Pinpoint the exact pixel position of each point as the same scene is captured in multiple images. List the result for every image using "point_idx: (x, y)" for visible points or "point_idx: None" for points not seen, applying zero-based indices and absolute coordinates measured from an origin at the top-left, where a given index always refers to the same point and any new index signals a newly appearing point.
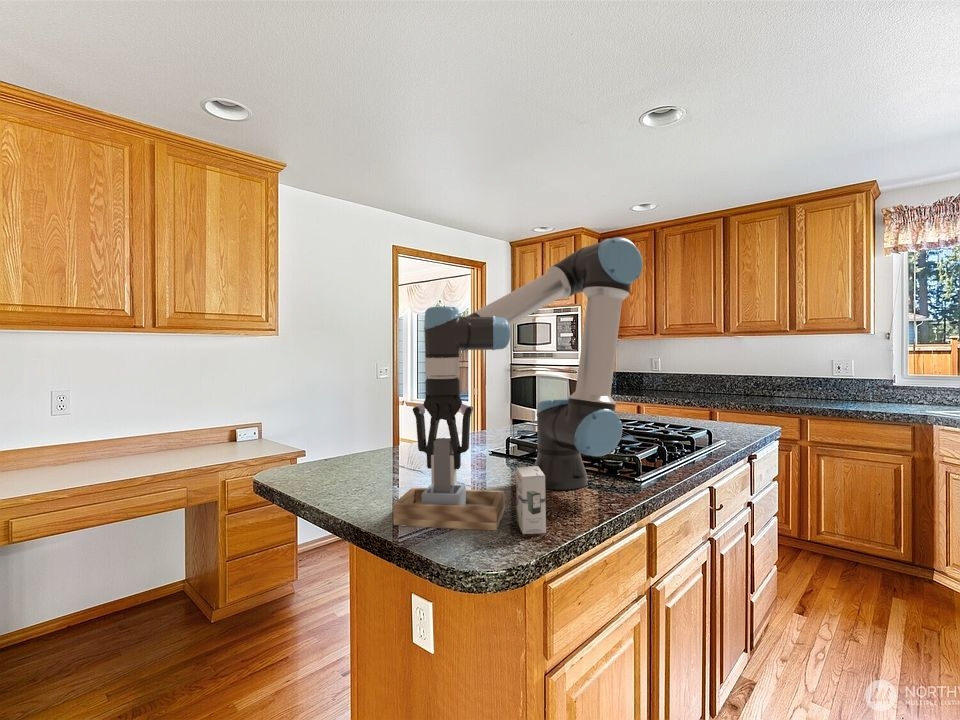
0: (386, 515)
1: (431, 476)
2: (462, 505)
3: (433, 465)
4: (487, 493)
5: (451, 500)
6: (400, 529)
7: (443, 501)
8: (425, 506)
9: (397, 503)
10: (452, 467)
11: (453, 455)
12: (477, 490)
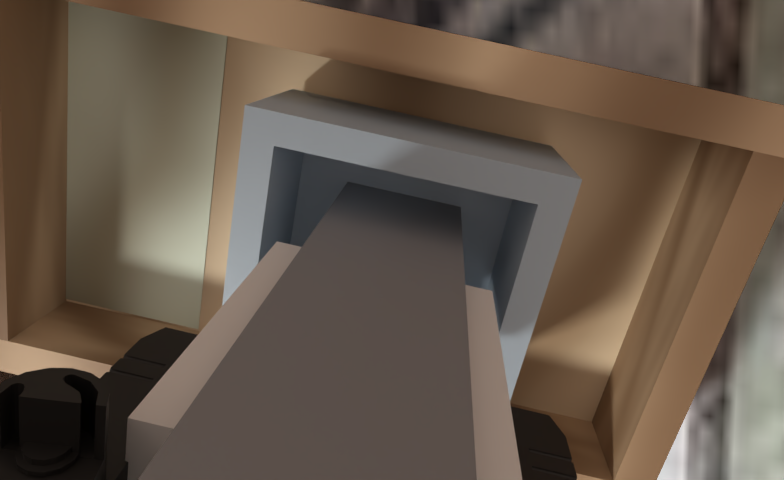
0: (775, 296)
1: (497, 329)
2: (226, 30)
3: (478, 392)
4: (90, 351)
5: (316, 113)
6: (690, 15)
7: (385, 126)
8: (534, 52)
9: (781, 137)
10: (223, 324)
11: (128, 430)
12: None
